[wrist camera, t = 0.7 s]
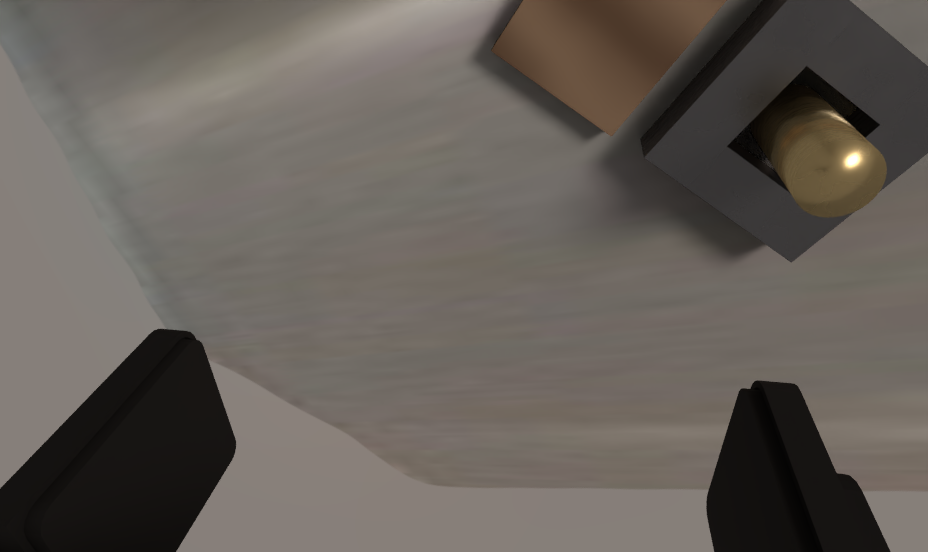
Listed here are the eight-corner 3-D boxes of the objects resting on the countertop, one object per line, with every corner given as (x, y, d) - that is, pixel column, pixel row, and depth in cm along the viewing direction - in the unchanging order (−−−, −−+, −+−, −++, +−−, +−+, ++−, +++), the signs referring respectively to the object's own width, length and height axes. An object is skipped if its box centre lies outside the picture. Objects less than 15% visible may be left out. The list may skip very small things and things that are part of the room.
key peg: (789, 70, 34) (845, 123, 27) (838, 109, 35) (906, 172, 28) (735, 125, 36) (773, 188, 29) (783, 161, 37) (832, 231, 30)
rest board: (626, -163, 30) (628, -165, 28) (760, -52, 31) (767, -49, 30) (494, 44, 36) (491, 50, 35) (610, 127, 38) (611, 136, 37)
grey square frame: (796, -38, 31) (814, -30, 29) (951, 93, 34) (980, 110, 31) (640, 139, 38) (644, 157, 35) (778, 238, 40) (791, 262, 38)
